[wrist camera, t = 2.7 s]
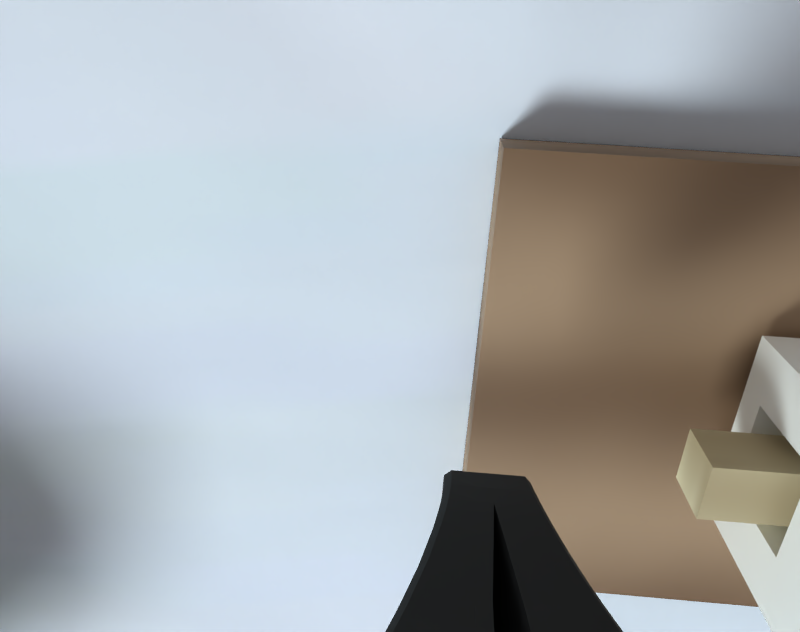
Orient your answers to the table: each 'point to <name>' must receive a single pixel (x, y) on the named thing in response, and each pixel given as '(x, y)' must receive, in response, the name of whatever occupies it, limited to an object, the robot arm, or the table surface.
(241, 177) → the table surface
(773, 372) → the sleeve
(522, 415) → the board
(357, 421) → the table surface
